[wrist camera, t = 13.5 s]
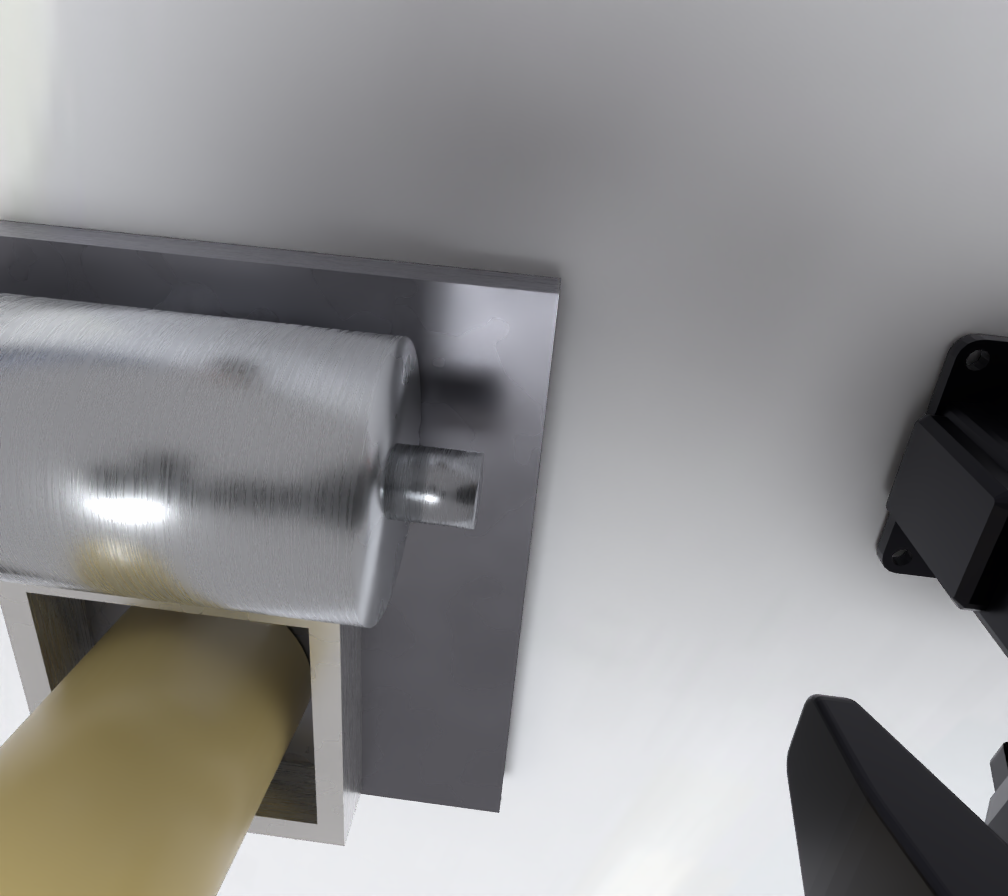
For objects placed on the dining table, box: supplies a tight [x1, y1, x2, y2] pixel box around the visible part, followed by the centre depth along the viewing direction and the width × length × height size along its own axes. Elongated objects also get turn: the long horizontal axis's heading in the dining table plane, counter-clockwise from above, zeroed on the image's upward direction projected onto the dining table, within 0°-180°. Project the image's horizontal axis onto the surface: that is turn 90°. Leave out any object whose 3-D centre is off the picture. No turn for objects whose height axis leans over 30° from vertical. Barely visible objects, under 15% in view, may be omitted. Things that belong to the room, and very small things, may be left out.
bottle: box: [0, 606, 312, 896], centre depth 16 cm, size 6×6×14 cm
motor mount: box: [0, 220, 561, 846], centre depth 19 cm, size 14×17×8 cm
